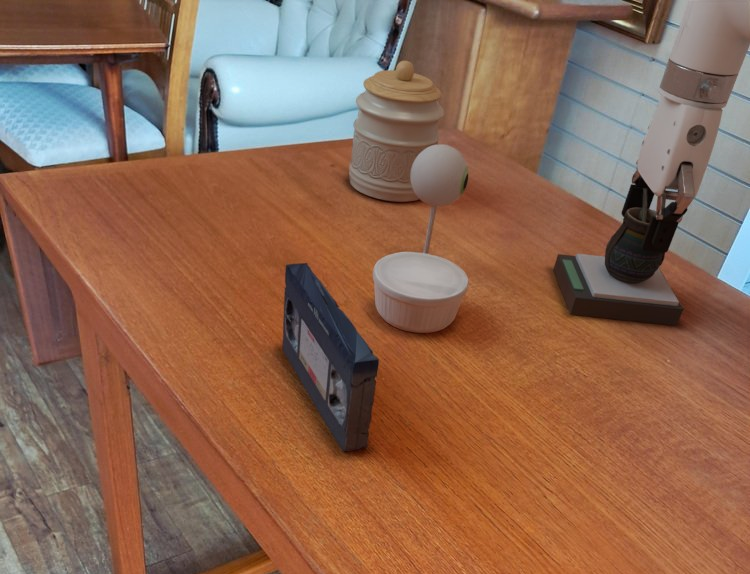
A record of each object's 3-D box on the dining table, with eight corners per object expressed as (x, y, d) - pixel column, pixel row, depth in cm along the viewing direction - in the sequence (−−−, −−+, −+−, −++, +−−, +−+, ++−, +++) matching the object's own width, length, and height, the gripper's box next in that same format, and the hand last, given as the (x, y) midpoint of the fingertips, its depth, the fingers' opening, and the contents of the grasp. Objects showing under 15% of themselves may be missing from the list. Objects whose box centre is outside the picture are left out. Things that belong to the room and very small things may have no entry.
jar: (330, 178, 122) (341, 51, 110) (390, 165, 130) (406, 45, 118) (387, 210, 116) (405, 79, 104) (447, 194, 123) (470, 70, 111)
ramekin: (391, 344, 89) (398, 302, 85) (353, 295, 96) (357, 255, 92) (477, 333, 93) (487, 292, 89) (434, 287, 100) (441, 247, 96)
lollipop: (442, 280, 102) (466, 162, 92) (390, 266, 103) (407, 147, 93) (456, 258, 107) (479, 144, 97) (406, 245, 108) (424, 131, 98)
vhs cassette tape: (280, 348, 85) (284, 262, 79) (306, 346, 86) (313, 260, 80) (338, 455, 73) (349, 364, 67) (367, 450, 74) (381, 360, 68)
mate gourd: (612, 289, 99) (639, 211, 92) (588, 260, 104) (613, 185, 98) (663, 289, 101) (694, 213, 94) (637, 262, 106) (665, 188, 99)
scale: (651, 281, 109) (659, 260, 107) (676, 325, 100) (686, 304, 98) (553, 270, 108) (559, 249, 106) (570, 314, 99) (577, 292, 97)
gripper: (758, 112, 81) (693, 268, 92) (704, 66, 93) (652, 208, 105) (688, 103, 80) (631, 261, 92) (643, 58, 93) (598, 202, 104)
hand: (642, 233), depth 98 cm, fingers open, 9 cm apart
